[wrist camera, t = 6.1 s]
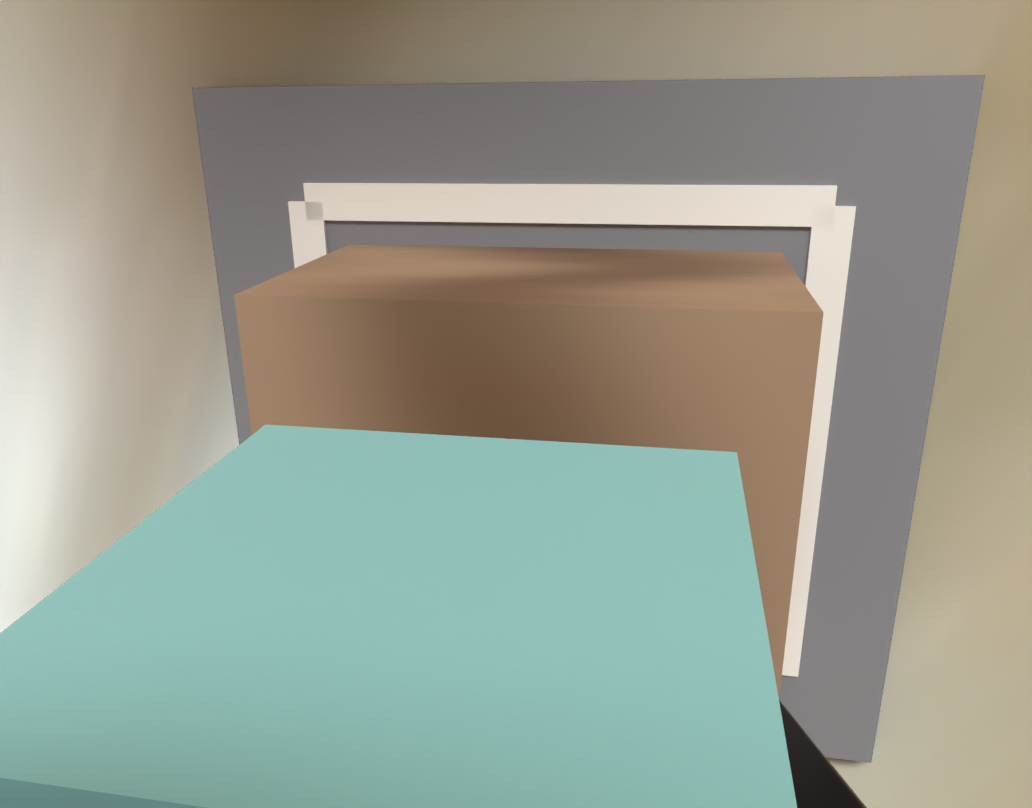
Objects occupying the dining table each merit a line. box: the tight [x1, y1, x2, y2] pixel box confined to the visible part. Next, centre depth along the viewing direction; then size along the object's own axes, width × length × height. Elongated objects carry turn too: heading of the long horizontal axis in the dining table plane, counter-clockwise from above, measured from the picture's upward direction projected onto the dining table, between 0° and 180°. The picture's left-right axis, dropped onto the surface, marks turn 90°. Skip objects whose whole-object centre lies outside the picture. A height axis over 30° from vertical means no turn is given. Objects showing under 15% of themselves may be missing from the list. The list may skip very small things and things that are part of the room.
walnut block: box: [234, 244, 824, 697], centre depth 13 cm, size 7×7×4 cm
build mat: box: [192, 75, 985, 763], centre depth 15 cm, size 12×12×1 cm
